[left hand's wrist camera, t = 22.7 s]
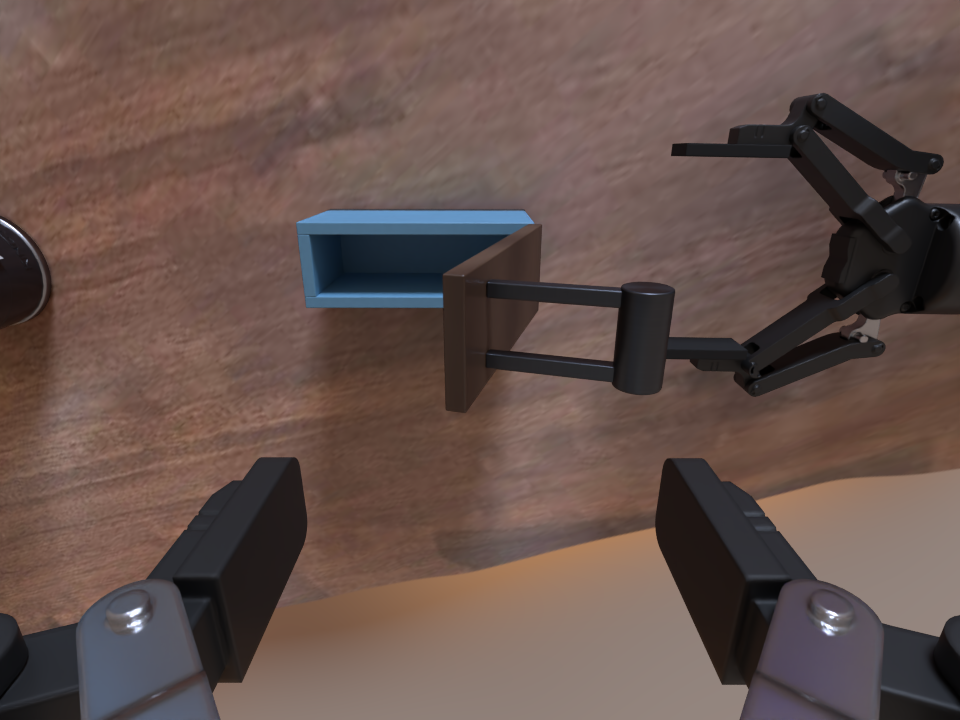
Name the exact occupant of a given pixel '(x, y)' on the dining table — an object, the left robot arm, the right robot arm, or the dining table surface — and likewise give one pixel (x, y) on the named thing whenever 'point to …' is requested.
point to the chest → (393, 253)
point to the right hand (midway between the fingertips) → (663, 255)
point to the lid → (514, 302)
